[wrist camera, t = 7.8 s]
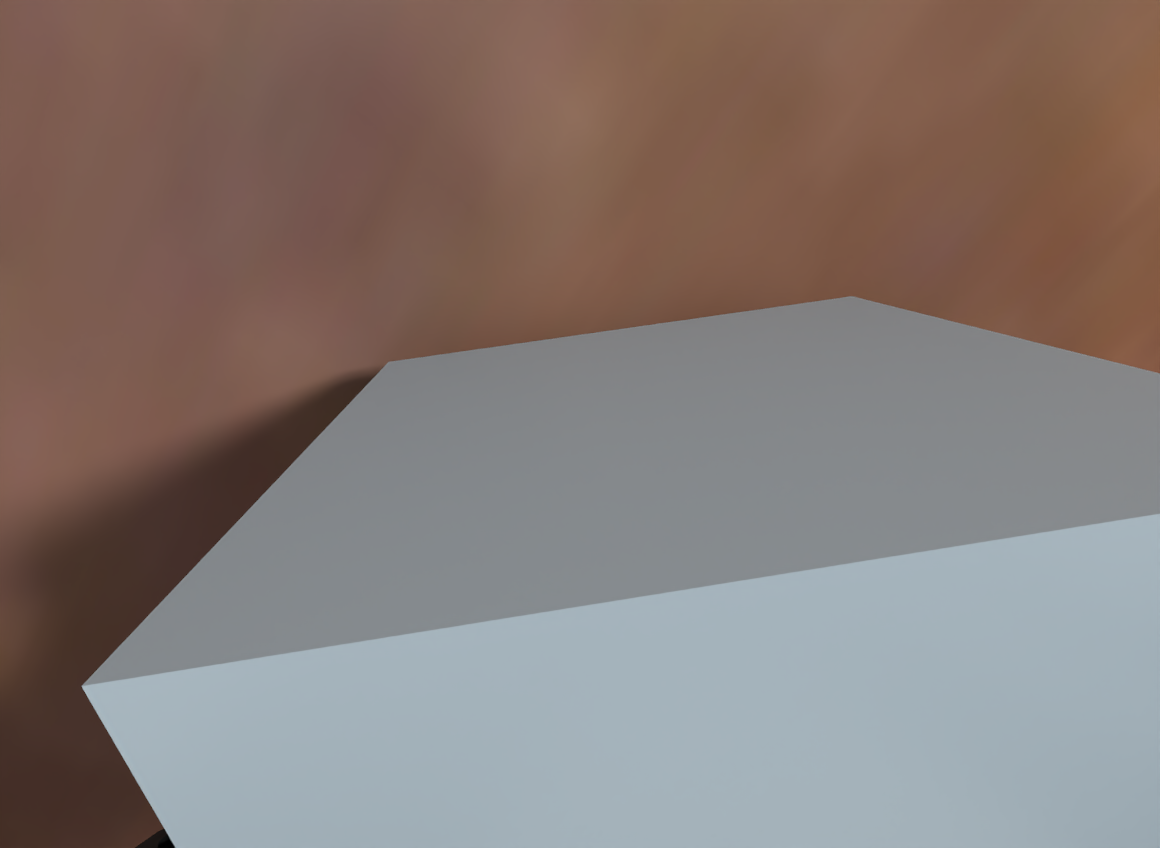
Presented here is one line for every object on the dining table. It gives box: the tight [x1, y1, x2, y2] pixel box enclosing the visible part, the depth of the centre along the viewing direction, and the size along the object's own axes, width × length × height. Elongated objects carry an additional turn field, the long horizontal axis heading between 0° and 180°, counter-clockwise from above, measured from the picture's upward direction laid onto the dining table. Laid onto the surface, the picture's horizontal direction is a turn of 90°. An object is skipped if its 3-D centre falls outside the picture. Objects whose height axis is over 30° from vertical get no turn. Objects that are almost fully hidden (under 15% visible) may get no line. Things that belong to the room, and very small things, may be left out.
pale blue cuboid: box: [82, 296, 1160, 848], centre depth 10 cm, size 10×10×9 cm
